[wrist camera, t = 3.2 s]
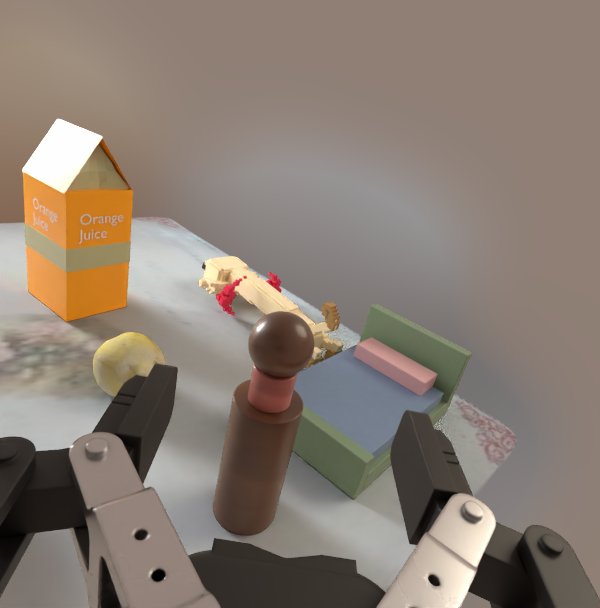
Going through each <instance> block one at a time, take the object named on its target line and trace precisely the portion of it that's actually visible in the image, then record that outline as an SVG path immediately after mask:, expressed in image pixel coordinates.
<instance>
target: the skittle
mask: <svg viewBox="0 0 600 608" xmlns="http://www.w3.org/2000/svg"><path fill="white" fill-rule="evenodd" d="M248 345H249V353H250V356H251V358H252V360H253V362H254V366H253V371H252V376H251V380H248V381H245V382H243V383H241V384H240V385H239V386H238V387H237V388H236V389H235V391H234V395H233V400H232V405H231V411H230V416H229V422H228V427H227V432H226V438H225V443H224V449H223V454H222V459H221V465H220V470H219V476H218V481H217V486H216V492H215V497H214V503H213V511H214V515H215V517H216V519H217V520H218V522H219V523H220V524H221V525H222V526H223V527H224V528H225V529H227V530H229V531H231V532H233V533H236V534H240V535H252V534H256V533H259V532H261V531H263V530H264V529H266V528H267V527H268V526H269V525H270V524H271V522H272V521H273V519H274V516H275V512H276V508H277V505H278V501H279V497H280V494H281V490H282V486H283V482H284V479H285V475H286V471H287V468H288V464H289V460H290V456H291V453H292V449H293V445H294V442H295V438H296V434H297V430H298V427H299V423H300V419H301V415H302V412H303V401H302V398H301V397H300V395H299V394H298V393H297V392H296V391H295V390H294V386H295V382H296V378H297V375H298V372H300V371H301V370H303V369H304V368H305V367H306V366H307V364H308V363H309V361H310V360H311V358H312V355H313V351H314V337H313V333H312V331H311V329H310V327H309V325H308V324H307V323H306V322H305V321H304V320H303V319H302V318H301V317H299V316H298V315H296V314H293V313H290V312H285V311H277V312H272V313H270V314H267V315H265V316H264V317H262V318H261V319H260V320H259V321H258V322H257V323H256V324H255V325H254V327H253V328H252V331H251V333H250V336H249V342H248Z"/></svg>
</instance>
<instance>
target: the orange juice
mask: <svg viewBox="0 0 600 608" xmlns="http://www.w3.org/2000/svg"><path fill="white" fill-rule="evenodd" d="M102 137H103V136H100V135H98V134H95V133H93V132H90V131H88V130H85V129H83V128H80V127H78V126H75V125H73V124H70V123H68V122H65V121H63V120H61V119H57V120H56V122H55V123H54V125H53V126H52V128H51V129H50V130H49V132H48V133H47V135H46V136H45V138H44V139H43V141H42V142H41V143H40V145H39V146H38V148H37V149H36V151H35V152H34V153H33V155H32V156H31V158H30V159H29V161H28V162H27V164H26V165H25V166H24V168H23V169H22V171H23V181H24V204H25V205H24V206H25V242H26V253H27V276H28V291H29V292H30V293H31V294H32V295H34V296H35V297H36V298H37V299H39V300H40V301H41V302H42V303H44V304H45V305H46V306H47V307H49V308H50V309H51V310H52V311H54V312H55V313H56V314H57V315H59V316H60V317H61V318H62V319H64V320H65V321H66V322H68V321H72V320H76V319H80V318H84V317H87V316H91V315H95V314H99V313H103V312H107V311H111V310H115V309H119V308H123V307H126V305H127V288H128V270H129V261H130V244H131V241H130V235H131V218H132V200H133V190H131V188H130V186H129V185H128V183H127V181H126V179H125V178H124V176H123V174H122V172H121V171H120V169H119V167H118V165H117V163H116V162H115V160H114V158H113V157H112V155H111V153H110V151H109V150H108V148H107V146H106V144H105V142H104V141H103V139H102Z"/></svg>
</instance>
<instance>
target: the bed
mask: <svg viewBox="0 0 600 608" xmlns="http://www.w3.org/2000/svg"><path fill="white" fill-rule="evenodd" d="M471 354H472V353H471V352H470V351H468V350H466V349H464V348H461V347H460V346H458V345H456V344H454V343H452V342H450V341H448V340H446V339H444V338H442V337H440V336H438V335H436V334H434V333H432V332H430V331H428V330H426V329H424V328H422V327H420V326H418V325H416V324H414V323H412V322H411V321H408V320H406V319H404V318H403V317H401V316H399V315H397V314H395V313H393V312H391V311H389V310H387V309H385V308H383V307H381V306H379V305H377V304H374V305H372V306H371V307H370V310H369V313H368V316H367V320H366V323H365V326H364V329H363V332H362V335H361V339H360V342H359V343H358V344H357V345H355V346H353V347H351V348H349V349H346V350H344V351H342V352H340V353H338V354H336V355H334V356H332V357H330V358H328V359H326V360H324V361H321V362H319V363H317V364H315V365H313V366H311V367H309V368H307V369H305V370H303V371H301V372H298V375H297V378H296V382H295V386H294V390H295V391H296V392H297V393H298V394H299V395H300V397H301V398H302V401H303V412H302V415H301V419H300V423H299V427H298V430H297V434H296V438H295V442H294V445H293V449H292V450H293V451H294V452H295V453H296V454H298V455H299V456H300V457H301V458H303V459H304V460H305V461H306V462H308V463H309V464H310V465H311V466H312V467H314V468H315V469H316V470H317V471H319V472H320V473H321V474H322V475H324V476H325V477H326V478H327V479H329V480H330V481H331V482H332V483H333V484H335V485H336V486H337V487H338V488H340V489H341V490H342V491H343V492H345V493H346V494H347V495H348V496H350V497H351V498H352V499H355V498H356V497H357V496H358V495H359V494H360V493H361V492H362V491H363V490H364V489H365V488H367V487H368V486H369V485H370V484H371V483H372V482H373V481H374V480H375V479H376V478H377V477H378V476H379V475H380V474H382V473H383V472H384V471H385V470H386V469H387V468H388V467H389V466H390V465H391V460H390V452H391V446H392V442H393V439H394V437H395V434H396V432H397V429H398V426H399V424H400V421H401V418H402V416H403V413H404V412H405V411H406V410H410V411H416V412H421V413H426V414H428V415H429V417H430V419H431V422H432V425H434V424H435V423H436V422H437V421H438V420H439V419H440V418H441V417H443V416H444V415H445V414H446V412H447V409H448V407H449V405H450V403H451V400H452V398H453V396H454V393H455V391H456V389H457V386H458V384H459V382H460V380H461V377H462V375H463V373H464V370H465V368H466V366H467V363H468V361H469V359H470V356H471Z"/></svg>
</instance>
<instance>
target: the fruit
mask: <svg viewBox="0 0 600 608" xmlns="http://www.w3.org/2000/svg"><path fill="white" fill-rule="evenodd" d="M155 363H157V364H163V365H165V359H164V356H163V353H162V351H161V350H160V349H159V348H158V347H157V345H156V344H155V343H154V342H153V341H152V340H151V339H150V338H148V337H147V336H145V335H142V334H139V333H136V332H127V333H123V334H121V335H119V336H117V337H115V338H113V339H110V340H108V341H106V342H105V343H103V344H102V345H101V346H100V348H99V349H98V350H97V352H96V354H95V356H94V359H93V373H94V377H95V380H96V382H97V383H98V385H99V386H100V388H101V389H102V390H103V391H104V392H106V393H107V394H108V395H110V396H113V397H115V396H116V395H117V393H118V391H119V390H120V388H121V387H122V385H123V384H124V382H126V381H127V380H129V379H130V378H132V377H134V376H135V375H140V376H145V377H147V376H148V375H149V373H150V371H151V369H152V368H153V366H154V364H155Z"/></svg>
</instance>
